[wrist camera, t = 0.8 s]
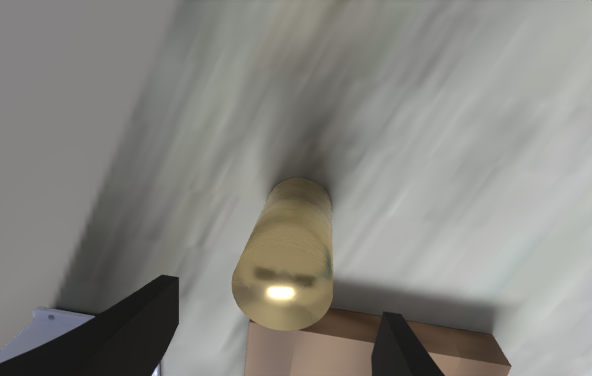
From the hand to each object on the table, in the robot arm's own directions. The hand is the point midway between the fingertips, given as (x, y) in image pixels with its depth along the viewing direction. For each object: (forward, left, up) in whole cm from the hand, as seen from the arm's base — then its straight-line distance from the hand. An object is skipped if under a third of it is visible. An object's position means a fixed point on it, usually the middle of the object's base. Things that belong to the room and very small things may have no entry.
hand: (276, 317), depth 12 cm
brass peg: (0, 0, -10) cm, 10 cm away
